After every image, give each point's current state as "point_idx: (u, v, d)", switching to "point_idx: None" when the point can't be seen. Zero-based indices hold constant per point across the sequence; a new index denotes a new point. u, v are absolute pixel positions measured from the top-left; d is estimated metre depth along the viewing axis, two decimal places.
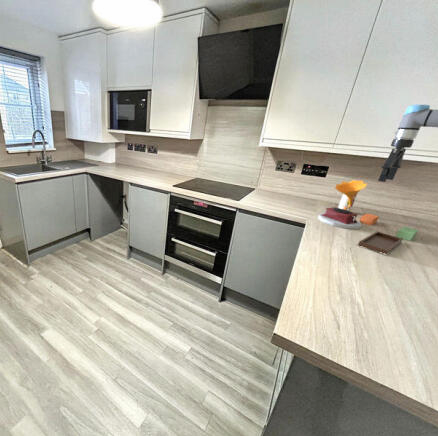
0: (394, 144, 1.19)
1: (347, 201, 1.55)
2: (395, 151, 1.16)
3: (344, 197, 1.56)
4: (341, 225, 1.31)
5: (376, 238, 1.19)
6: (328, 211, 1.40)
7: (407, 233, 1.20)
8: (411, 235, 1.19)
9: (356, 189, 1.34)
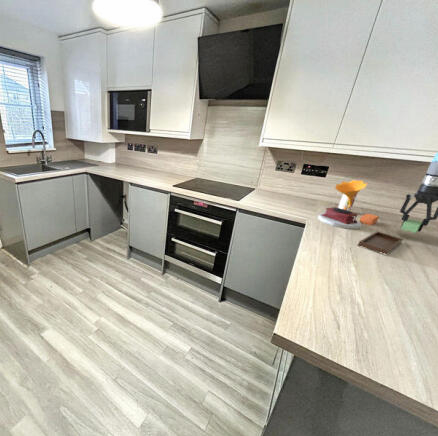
0: None
1: (347, 201, 1.55)
2: None
3: (344, 197, 1.56)
4: (341, 225, 1.31)
5: (376, 238, 1.19)
6: (328, 211, 1.40)
7: (412, 225, 1.18)
8: (417, 227, 1.17)
9: (356, 189, 1.34)
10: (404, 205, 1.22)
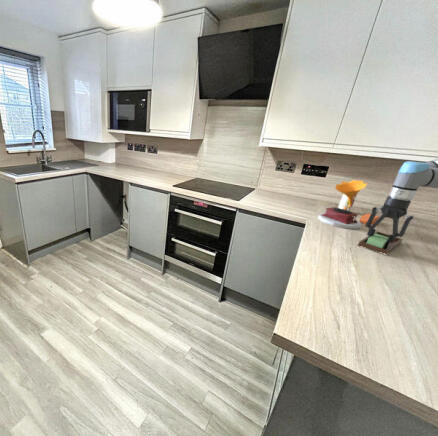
0: (405, 207, 1.00)
1: (347, 201, 1.55)
2: (411, 219, 1.00)
3: (344, 197, 1.56)
4: (341, 225, 1.31)
5: None
6: (328, 211, 1.40)
7: (377, 241, 1.06)
8: (381, 244, 1.05)
9: (356, 189, 1.34)
10: (370, 219, 1.10)
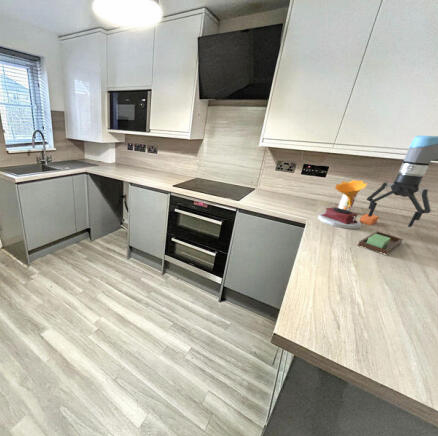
0: (417, 183, 0.96)
1: (347, 201, 1.55)
2: (427, 192, 0.96)
3: (344, 197, 1.56)
4: (341, 225, 1.31)
5: None
6: (328, 211, 1.40)
7: (377, 241, 1.06)
8: (381, 244, 1.05)
9: (356, 189, 1.34)
10: (374, 193, 1.08)
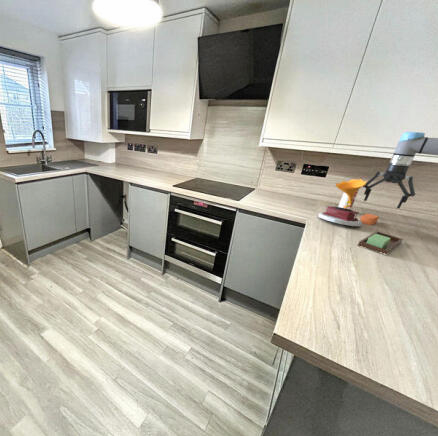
0: (404, 171, 1.16)
1: (347, 201, 1.55)
2: (412, 179, 1.16)
3: (344, 197, 1.56)
4: (342, 222, 1.31)
5: None
6: (329, 209, 1.41)
7: (377, 241, 1.06)
8: (381, 244, 1.05)
9: (356, 188, 1.36)
10: (369, 181, 1.28)
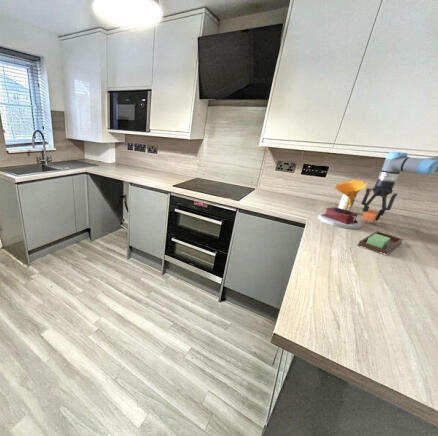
0: (390, 186, 1.30)
1: (347, 201, 1.55)
2: None
3: (344, 197, 1.56)
4: (341, 225, 1.32)
5: None
6: (328, 211, 1.40)
7: (377, 241, 1.06)
8: (381, 244, 1.05)
9: (356, 189, 1.34)
10: (364, 198, 1.41)
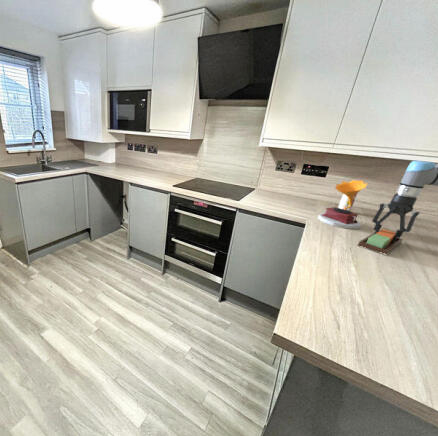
0: (411, 203, 1.06)
1: (347, 201, 1.55)
2: (417, 214, 1.06)
3: (344, 197, 1.56)
4: (341, 225, 1.32)
5: None
6: (328, 211, 1.40)
7: (377, 241, 1.06)
8: (381, 244, 1.05)
9: (356, 189, 1.34)
10: (377, 214, 1.17)
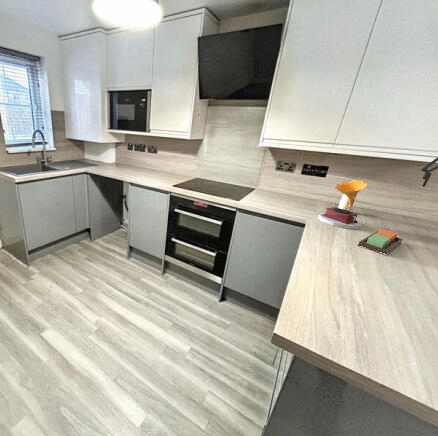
0: None
1: (347, 201, 1.55)
2: None
3: (344, 197, 1.56)
4: (341, 225, 1.32)
5: None
6: (328, 211, 1.40)
7: (377, 241, 1.06)
8: (381, 244, 1.05)
9: (356, 189, 1.34)
10: (430, 164, 1.14)
